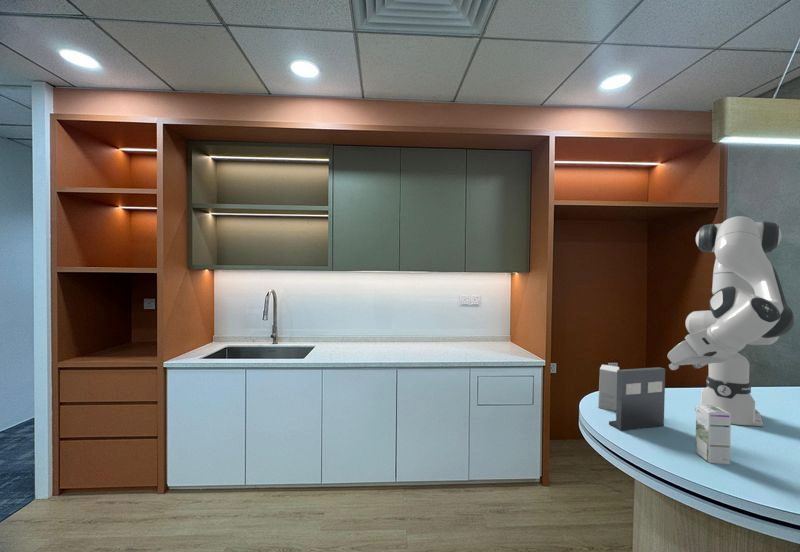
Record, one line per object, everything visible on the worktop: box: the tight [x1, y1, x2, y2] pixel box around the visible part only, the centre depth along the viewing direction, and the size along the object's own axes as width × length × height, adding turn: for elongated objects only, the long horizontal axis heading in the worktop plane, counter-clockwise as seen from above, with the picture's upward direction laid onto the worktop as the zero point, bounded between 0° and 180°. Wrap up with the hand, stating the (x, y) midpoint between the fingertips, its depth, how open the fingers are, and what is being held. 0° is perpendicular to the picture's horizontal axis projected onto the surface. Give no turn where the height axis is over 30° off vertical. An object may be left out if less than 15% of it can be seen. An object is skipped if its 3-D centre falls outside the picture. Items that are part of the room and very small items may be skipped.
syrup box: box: [695, 404, 732, 466], centre depth 102 cm, size 6×6×14 cm
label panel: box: [608, 366, 666, 432], centre depth 124 cm, size 18×5×20 cm, turn 103°
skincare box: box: [597, 364, 620, 412], centre depth 141 cm, size 8×7×16 cm
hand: (683, 367), depth 113 cm, fingers open, 8 cm apart
